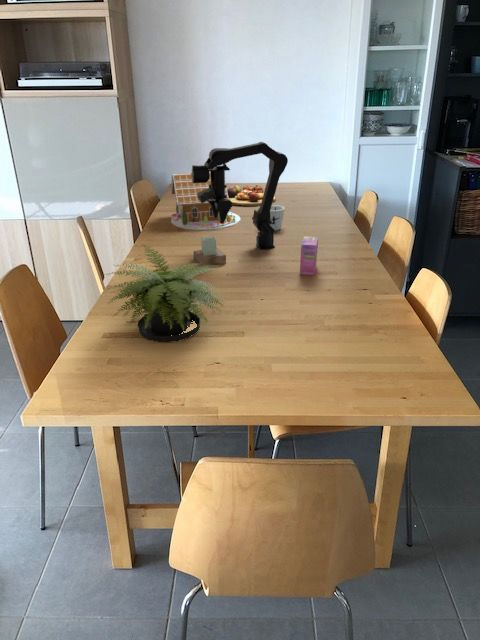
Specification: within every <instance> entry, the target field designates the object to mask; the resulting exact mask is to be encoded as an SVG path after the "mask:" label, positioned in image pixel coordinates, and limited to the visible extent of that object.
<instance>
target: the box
mask: <svg viewBox="0 0 480 640" xmlns="http://www.w3.org/2000/svg"><path fill="white" fill-rule="evenodd" d="M318 244H319V236H308V235H304V236H303V238H302V241H301V244H300V245H301V246H300V257H299V258H300V260H299V261H300V262H299V275H304V276H315V273H316V269H317V262H318V261H317V260H318V249H319V248H318V247H319V245H318Z"/></svg>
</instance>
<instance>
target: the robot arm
mask: <svg viewBox="0 0 480 640" xmlns="http://www.w3.org/2000/svg"><path fill="white" fill-rule="evenodd" d="M259 154H262V155H263V156H264V157H266V158H267V159H268V161H269V162H268V177H267V180H266V185H265V188H264V190H263V192H264V195H263V198H262V202H261V205H260V206H259V208H258V209H257V210H256V209H254V210H253V216H252V218H251V220H252V224H253V226H254V227H255V228H256V229H257V230H258V232H257V235H256V241H255V242H256V243H255V246H257V247H258V248H259V249H260V250H266V249H267V250H268V249H274V248H276V245H274V241H275V240H274V239H275V233H276V230H274V229H273V228H272V227H271V226H270V219H271V217H270V210H271V206H272V205H273V203H274V202H273V199H274V196H275V195H276V190H277V187H278V185H279V181H280V177H281V176H282V174H283V173H284V172H285V169H286V167H287V165H288V162H289V160H288V157H287V156H286V154H284V153H282V152H280V151H276V150H275V149H273V148H272V147H270V146H269V145H268V144H267V143H266V142H263V141H259V142H257V143H251V144H246V145H242V146H238V147H233V148H231V147H230V148H226V147H225V148H224V147H222V148H221V147H220V148H219V147H217V148H216V147H215V148H212V149H211V150H210V152H209V154H208V158H207V160H206V161H205V163H204V165H203V164H201V165H196V164H193V165H191V172H190V173H191V178H192V183H207V181H209V179H210V176H211V184H209V188H208V189H205V190H203V191H201V192H199V193H197V196H198V198H199V201H200V202H201V203H204V202H205V201H207V202H209V203H210V204H211V207H212V211H213V214H214V217H215V218H217V216H218V213H219V216H220V222H221V223H224V221H225V219H226V216H227V214H228V212H230V210H231V209H232V208H233V205H232V202H231V201H230V200H229V199H228V198H227V195H225V188H227V184H226V185H225V183H226V171H227V172H228V171H230V170H231V169H230V167H228V166H227V163H229V162H231V161H233V160H236V159H237V160H238V159H240V158H246V157H250V156H255V155H259ZM209 172H210V174H209ZM227 189H228V188H227ZM224 198H226V199H224ZM272 202H273V203H272Z"/></svg>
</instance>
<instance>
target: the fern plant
mask: <svg viewBox="0 0 480 640" xmlns="http://www.w3.org/2000/svg"><path fill="white" fill-rule="evenodd" d="M142 247H144V248H143V249H144V256H146V257H147V258H146V260H147V262H148V263H152V264H153V265H151V264H150V266H151V267H152V268H156V269H153V270H152V269H150V268H147V267H146V266H144V265H141V264H137V263H134V264H133V263H131V262H130V263H125V264H124V263H122V264H117V265H115V264H114V265H113V266H114V267H124V268H127V269H129V271H128V270H126V269H125V270H122V271H120V270H118V271H117V272H116V271H111V273H110V272H109V273H104V274H103V275H107V276H108V275H111V274H114V275H119V276H122V275H124V277H126V276H130V275H131V277H132V278H134V277H137V279H134V280H130V281H129V282H127V281H124V283H118V284H114V285H113V288H114V289H115V288H116V289H117V288H118V289H117V290H114V291H111V293H115V292H118V293H116V294H115V296H113V297H112V298H110V299H109V301H108V303H109V304H112V302H116V300H120V299H125V297H126V299H127V298H128V300H129V301H125V302H124V303H125V304H123V305H121V306H120V307H121V308H119V309H117V312H115V313H114V315H112V316H111V318H113V317H115V316H118V313H121V312H124V311H125V312H124V313H125V314H124V315H123V316H122V317H123V318H124V317H126V316H128V314H130V311H133V312H132V316H130V319H131V320H130V323H129V325H128V326H131V324H134V322H136V320H137V318H139V317H140V316H142V315H143V314H144V315H143V316H142V317H141V318H139V320H138V322H137V329H138V333H139V334H140V336H141V337H142V336H143V337H142V338H144V339H146V340H147V339H148V341H151V340H153V341H152V342H155V341H158V342H157V343H173V342H172V341H176V342H180V341H179V340H181V341H183V340H182V339H184V340H186V339H185V338H187V339H189V338H188V337H190V336H191V335H193V334H195V333H196V332H197V331H198V330H199V331H200V329H199V328H200V327H201V321H202V320H204V321H205V322H206V323H208V318H207V317H206V316H205V314H204V312H203V311H202V308H201V306H203V305H204V306H205V307H206V308H209V309H211V310H213V313H216V312H215V310H214V309H216V310H217V311H219V312H220V313H222V311H221V309H220V308H218V306H217V305H220V306H222V307H225V305H224V304H222V303H225V304H227V303H226V301H225V300H223V299H222V298H219V297H217V296H220V297H221V295H220V294H219V293H218V292H216V291H214V289H215V290H216V289H217V290H221V291H222V289H221V288H219V287H216V286H214V284H213V283H211V284H210V283H208V282H206V281H205V280H204V281H203V280H199V279H198V280H197V279H196V278H194V277H196V276H198V275H201V274H203V273H206V272H209V271H212V270H217V268H215V267H220V265H214V266H207V265H203V267H202V266H201V265H198V263H189V264H187V263H185V264H184V265H183V264H181V265H180V266H178V267H176V266H175V267H173V266H170V267H169V265H170V264H167V263H168V260H166V261H165V259H166V258H165V255H163V254H162V253H159V250H155V249H154V248H151V247H150V246H147V245H145V244H143V245H142ZM145 253H146V254H145ZM162 256H163V257H162ZM166 264H167V265H166ZM206 266H207V267H206ZM134 269H135V270H134ZM140 271H141V272H140ZM103 275H102V276H103ZM193 278H194V279H193ZM110 289H111V287H108V288H107V290H110ZM130 297H131V298H130ZM197 303H198V304H197ZM216 306H217V307H216ZM192 320H193V321H195V323H196V324H197V327H196V328H194V329H193V330H191V331H189V332H187V333H184V332H183V331H186V329H187V328H188V327H190V324H193V323H191V322H193V321H192ZM187 326H188V327H187ZM199 331H198V332H199ZM182 332H183V334H181V333H182ZM198 332H197V333H198ZM197 333H196V334H197ZM179 334H180V335H179ZM196 334H195V335H196ZM171 335H172V336H171ZM193 336H194V335H193ZM191 337H192V336H191ZM191 337H190V338H191Z"/></svg>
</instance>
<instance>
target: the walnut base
mask: <svg viewBox="0 0 480 640" xmlns="http://www.w3.org/2000/svg"><path fill="white" fill-rule="evenodd" d="M216 252H217V255H208V256H204V255H203V253H202V249H199V250H198V249H197V250H193V252H192V253H193V260H194V261H195V262H196V264H197V265H198V266H200V265H201V266H202V267H203V265H207V266H209V267H210V266H211V267H213V266H214V267H215V266H218V265H219V266H221V265H225V264H227V256H226V255H227V254H225V253H224V252H222V251H221V249H219V248H218V247H216ZM201 266H200V267H201ZM207 266H206V268H207Z"/></svg>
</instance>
